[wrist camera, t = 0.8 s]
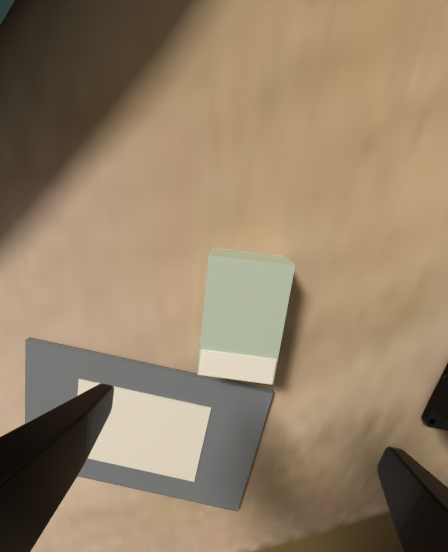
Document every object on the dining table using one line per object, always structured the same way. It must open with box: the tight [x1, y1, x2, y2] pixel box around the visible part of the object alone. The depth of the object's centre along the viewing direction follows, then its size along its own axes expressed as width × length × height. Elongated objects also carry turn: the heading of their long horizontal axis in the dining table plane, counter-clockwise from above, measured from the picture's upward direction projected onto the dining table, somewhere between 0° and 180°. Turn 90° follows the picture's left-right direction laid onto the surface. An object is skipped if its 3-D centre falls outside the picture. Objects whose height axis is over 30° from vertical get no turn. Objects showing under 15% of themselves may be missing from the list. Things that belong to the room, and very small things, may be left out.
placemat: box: [25, 338, 273, 512], centre depth 22 cm, size 20×13×1 cm, turn 78°
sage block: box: [197, 247, 295, 385], centre depth 17 cm, size 5×8×4 cm, turn 174°
